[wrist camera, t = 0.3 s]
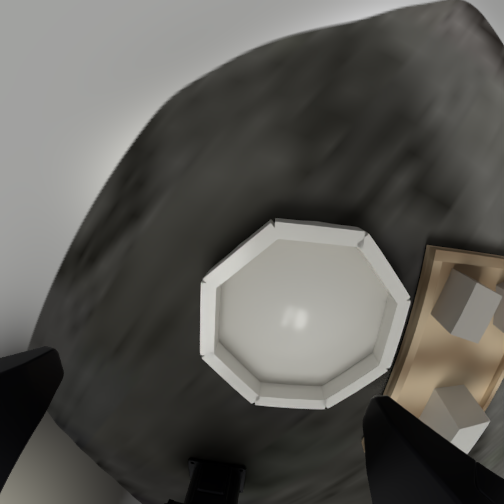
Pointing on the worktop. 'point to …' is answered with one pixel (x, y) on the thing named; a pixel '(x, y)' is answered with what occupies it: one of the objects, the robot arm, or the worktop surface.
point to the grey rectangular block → (455, 416)
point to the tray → (447, 337)
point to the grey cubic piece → (465, 306)
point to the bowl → (302, 314)
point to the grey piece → (499, 309)
